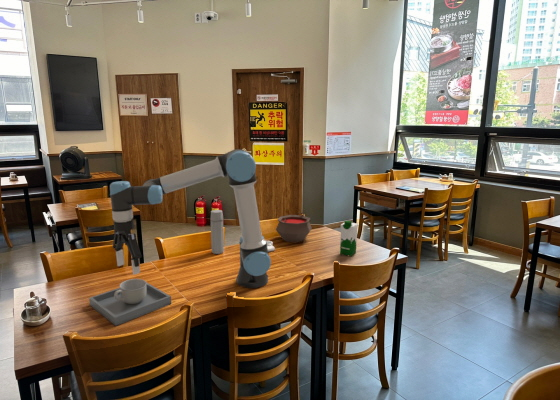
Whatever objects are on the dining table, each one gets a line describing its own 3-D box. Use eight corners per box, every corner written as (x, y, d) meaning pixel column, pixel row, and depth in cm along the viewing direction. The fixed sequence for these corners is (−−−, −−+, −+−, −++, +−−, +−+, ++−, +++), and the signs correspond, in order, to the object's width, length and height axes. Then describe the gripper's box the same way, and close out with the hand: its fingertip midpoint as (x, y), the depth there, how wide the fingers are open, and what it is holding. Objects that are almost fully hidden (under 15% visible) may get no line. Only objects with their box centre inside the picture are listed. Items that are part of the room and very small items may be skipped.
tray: (171, 303, 160) (170, 296, 159) (115, 326, 143) (114, 317, 142) (143, 287, 176) (142, 280, 175) (89, 305, 159) (89, 297, 158)
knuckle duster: (252, 256, 217) (241, 249, 229) (279, 250, 226) (267, 244, 238) (252, 250, 216) (241, 243, 229) (279, 245, 226) (267, 238, 238)
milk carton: (338, 254, 220) (339, 221, 215) (344, 249, 227) (345, 217, 223) (352, 257, 215) (353, 223, 211) (358, 252, 222) (359, 219, 218)
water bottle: (221, 255, 218) (220, 213, 213) (209, 254, 219) (207, 212, 214) (227, 249, 227) (226, 209, 221) (214, 248, 228) (213, 208, 223)
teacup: (141, 293, 168) (139, 276, 166) (152, 301, 160) (151, 283, 159) (109, 303, 158) (107, 285, 157) (119, 312, 151) (117, 294, 149)
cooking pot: (288, 231, 264) (288, 208, 260) (318, 237, 250) (319, 214, 247) (268, 240, 244) (268, 216, 241) (299, 247, 231) (299, 221, 227)
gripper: (147, 223, 146) (152, 274, 151) (118, 213, 163) (123, 259, 167) (129, 227, 141) (134, 280, 145) (100, 216, 157) (106, 264, 162)
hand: (128, 269), depth 156 cm, fingers open, 13 cm apart
